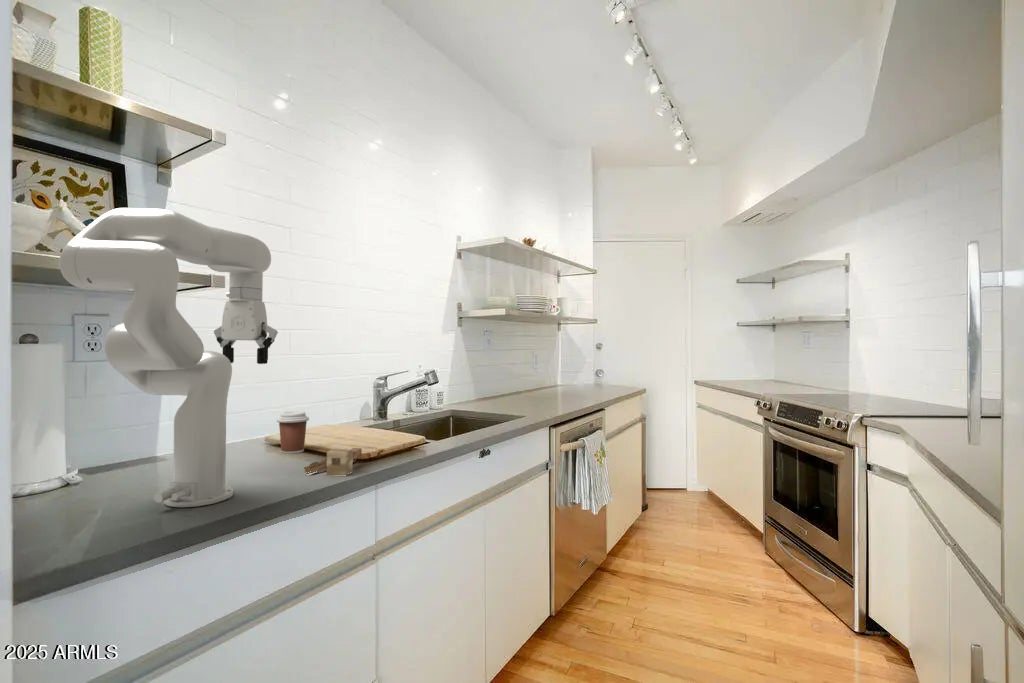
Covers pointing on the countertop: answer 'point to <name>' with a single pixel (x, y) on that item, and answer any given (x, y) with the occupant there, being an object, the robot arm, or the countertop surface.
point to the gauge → (342, 460)
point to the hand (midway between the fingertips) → (245, 363)
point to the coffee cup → (292, 431)
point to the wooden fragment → (318, 466)
